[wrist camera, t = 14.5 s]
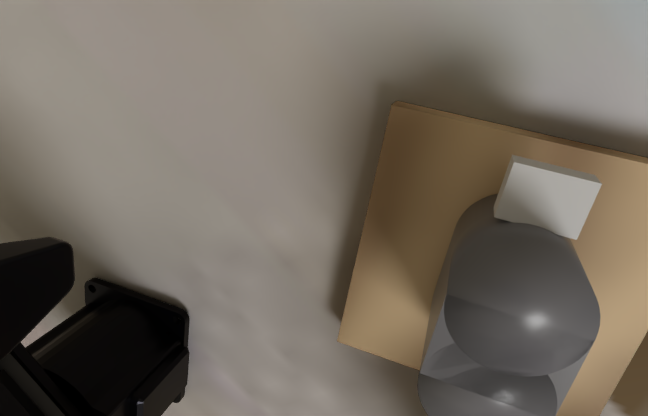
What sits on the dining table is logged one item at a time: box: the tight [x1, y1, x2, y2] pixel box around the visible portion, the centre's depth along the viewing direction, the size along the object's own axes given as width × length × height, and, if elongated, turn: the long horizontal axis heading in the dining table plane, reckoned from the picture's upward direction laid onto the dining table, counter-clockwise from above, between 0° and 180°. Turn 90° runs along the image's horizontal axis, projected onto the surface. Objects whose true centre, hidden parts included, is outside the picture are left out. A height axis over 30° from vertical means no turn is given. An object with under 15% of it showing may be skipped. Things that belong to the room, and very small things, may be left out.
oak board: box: [337, 101, 648, 416], centre depth 18 cm, size 11×11×1 cm
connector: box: [418, 155, 602, 416], centre depth 15 cm, size 4×9×5 cm, turn 169°
